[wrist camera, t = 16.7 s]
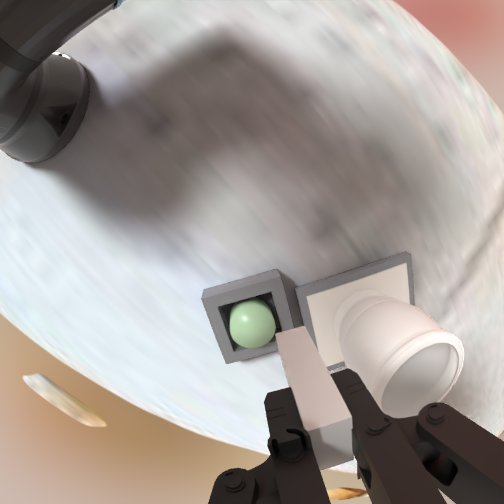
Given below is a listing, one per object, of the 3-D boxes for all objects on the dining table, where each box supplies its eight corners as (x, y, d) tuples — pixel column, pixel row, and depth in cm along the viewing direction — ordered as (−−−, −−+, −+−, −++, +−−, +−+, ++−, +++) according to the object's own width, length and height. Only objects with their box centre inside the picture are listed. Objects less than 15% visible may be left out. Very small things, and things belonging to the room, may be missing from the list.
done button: (236, 339, 36) (237, 352, 33) (224, 303, 35) (224, 315, 31) (276, 328, 36) (280, 341, 33) (265, 291, 35) (269, 302, 31)
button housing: (226, 351, 37) (226, 364, 34) (203, 289, 35) (201, 298, 32) (293, 332, 37) (298, 344, 34) (276, 268, 35) (280, 276, 32)
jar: (328, 361, 37) (370, 439, 22) (319, 292, 35) (372, 359, 20) (397, 338, 37) (456, 399, 23) (395, 271, 35) (472, 316, 20)
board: (313, 370, 39) (316, 376, 37) (294, 288, 36) (297, 292, 35) (411, 332, 39) (416, 336, 38) (405, 251, 36) (411, 253, 35)
